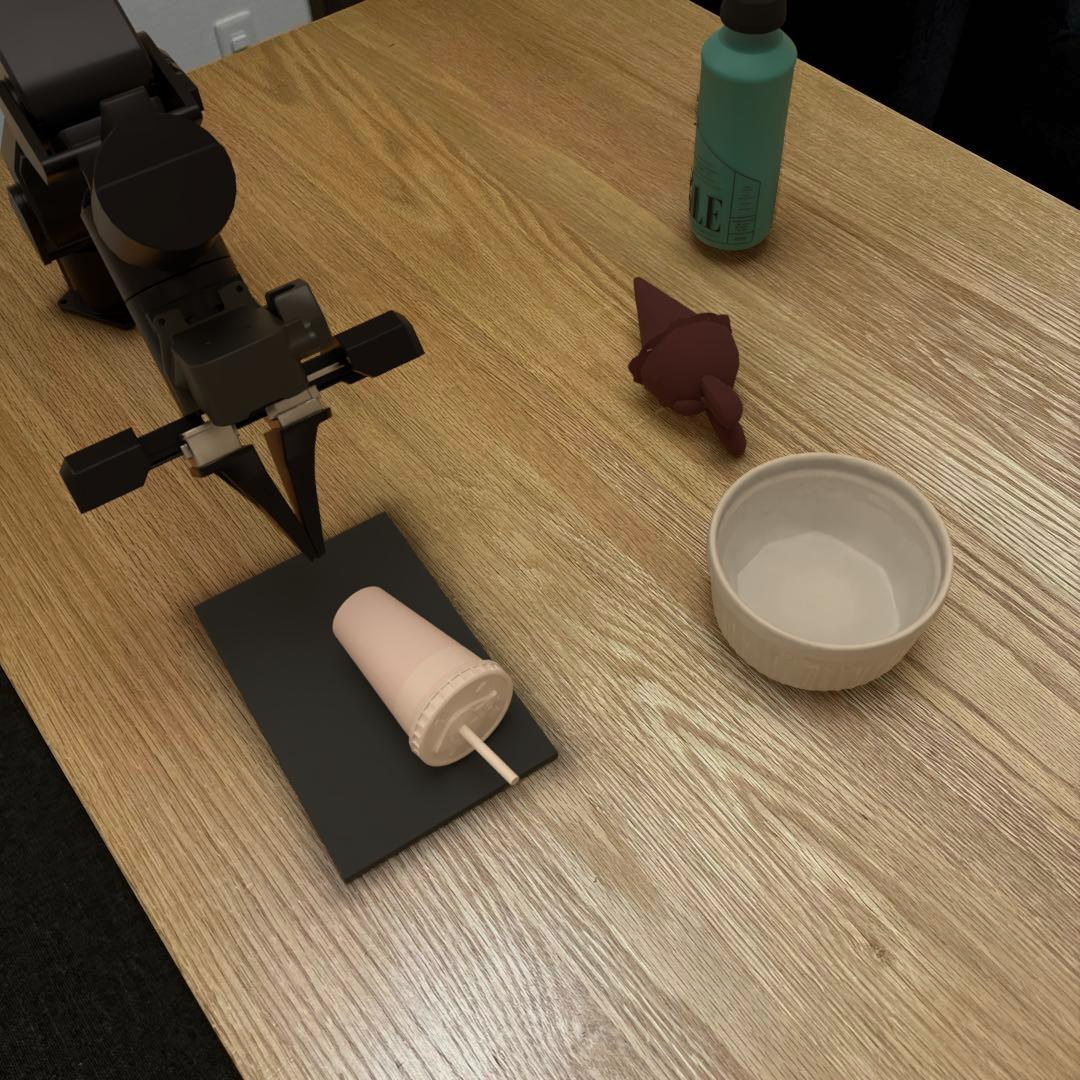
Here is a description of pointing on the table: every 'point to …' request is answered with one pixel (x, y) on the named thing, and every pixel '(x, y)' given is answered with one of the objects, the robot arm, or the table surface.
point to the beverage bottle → (741, 124)
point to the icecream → (689, 362)
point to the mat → (354, 698)
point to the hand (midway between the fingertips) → (317, 558)
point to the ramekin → (826, 569)
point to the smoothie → (425, 679)
